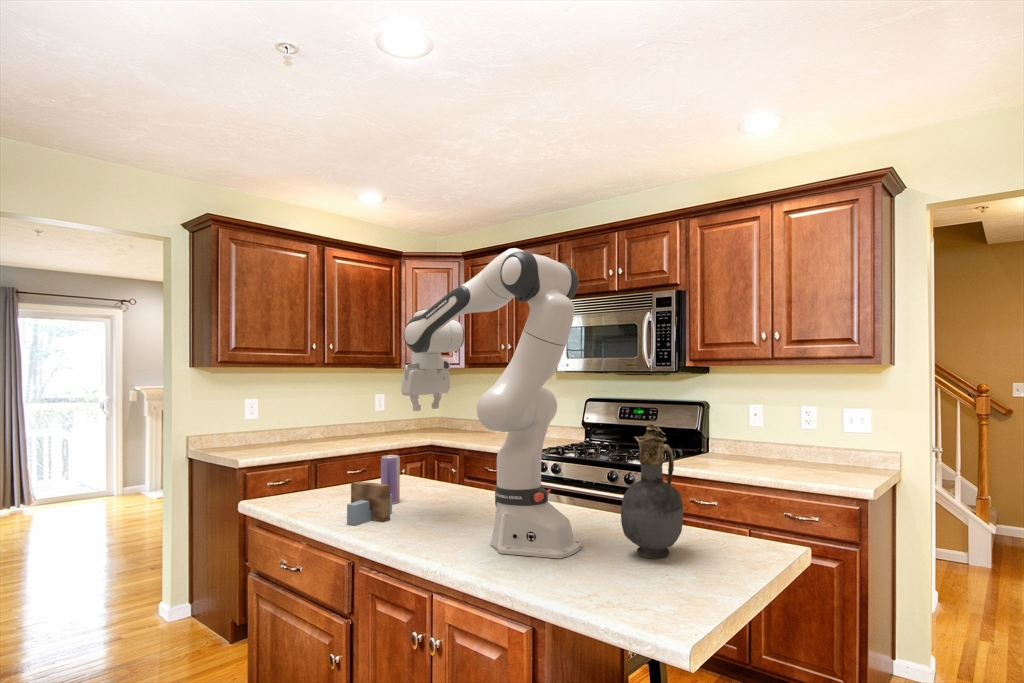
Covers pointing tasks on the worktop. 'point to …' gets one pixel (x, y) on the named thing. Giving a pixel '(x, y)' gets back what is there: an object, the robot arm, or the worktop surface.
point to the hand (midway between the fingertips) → (426, 409)
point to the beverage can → (391, 475)
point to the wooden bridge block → (373, 498)
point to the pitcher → (652, 500)
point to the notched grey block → (361, 512)
